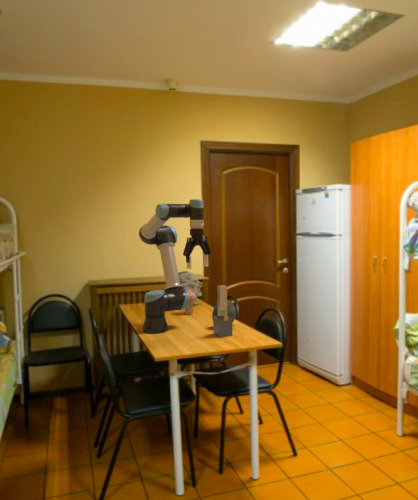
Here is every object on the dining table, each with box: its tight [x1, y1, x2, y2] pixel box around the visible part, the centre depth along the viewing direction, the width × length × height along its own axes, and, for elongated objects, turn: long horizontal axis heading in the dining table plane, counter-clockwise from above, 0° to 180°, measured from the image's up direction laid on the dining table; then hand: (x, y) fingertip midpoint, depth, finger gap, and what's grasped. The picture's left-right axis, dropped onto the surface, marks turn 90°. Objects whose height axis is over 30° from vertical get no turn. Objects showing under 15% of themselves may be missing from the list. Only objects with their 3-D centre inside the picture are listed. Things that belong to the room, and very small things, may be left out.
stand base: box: [212, 315, 233, 338], centre depth 246 cm, size 16×16×12 cm
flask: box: [211, 291, 237, 324], centre depth 265 cm, size 12×17×22 cm
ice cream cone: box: [183, 286, 198, 316], centre depth 309 cm, size 11×11×20 cm
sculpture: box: [178, 270, 203, 306], centre depth 345 cm, size 20×25×30 cm
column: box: [216, 284, 228, 318], centre depth 245 cm, size 4×4×20 cm
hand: (197, 267), depth 241 cm, fingers open, 13 cm apart
